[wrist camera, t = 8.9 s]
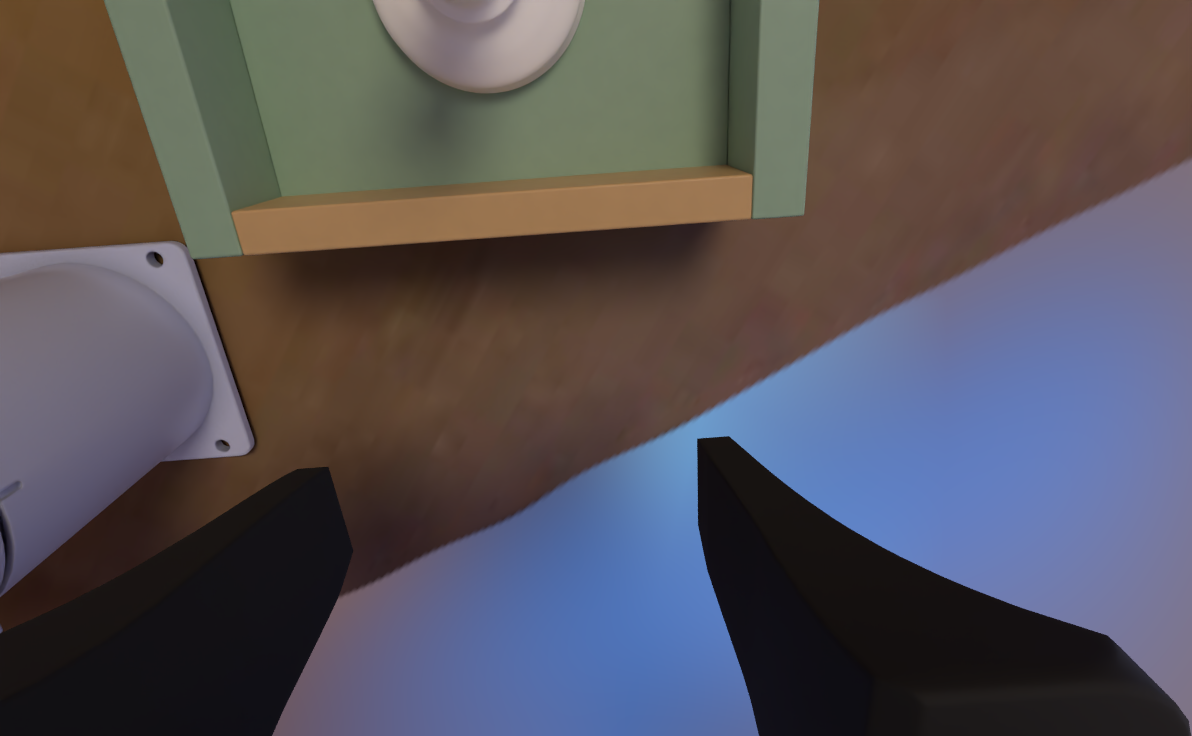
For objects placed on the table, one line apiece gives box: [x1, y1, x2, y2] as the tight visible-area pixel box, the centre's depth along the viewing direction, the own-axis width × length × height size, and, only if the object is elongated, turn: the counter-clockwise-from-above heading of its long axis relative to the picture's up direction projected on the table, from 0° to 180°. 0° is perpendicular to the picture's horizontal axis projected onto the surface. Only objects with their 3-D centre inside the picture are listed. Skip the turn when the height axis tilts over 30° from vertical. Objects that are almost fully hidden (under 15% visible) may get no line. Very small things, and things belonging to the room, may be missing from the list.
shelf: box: [104, 0, 819, 259], centre depth 15 cm, size 14×10×6 cm
